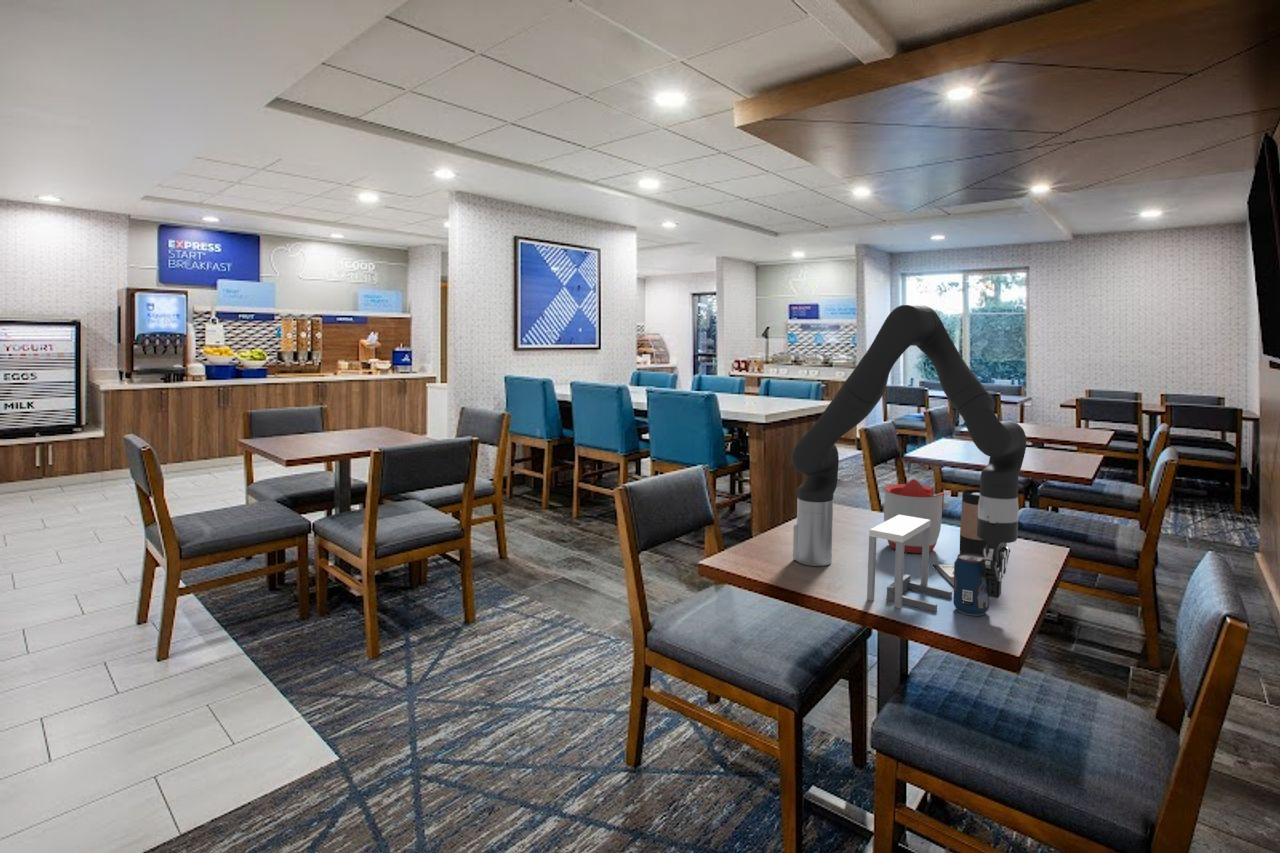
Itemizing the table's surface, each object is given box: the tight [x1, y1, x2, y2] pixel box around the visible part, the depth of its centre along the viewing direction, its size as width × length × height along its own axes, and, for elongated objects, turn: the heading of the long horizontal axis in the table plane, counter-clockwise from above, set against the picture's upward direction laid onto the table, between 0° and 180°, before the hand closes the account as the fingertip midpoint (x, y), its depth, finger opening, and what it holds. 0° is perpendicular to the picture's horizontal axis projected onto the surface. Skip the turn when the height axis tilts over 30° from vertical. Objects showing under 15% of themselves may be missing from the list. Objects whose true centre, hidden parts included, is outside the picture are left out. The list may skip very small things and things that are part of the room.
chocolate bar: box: [931, 563, 954, 589], centre depth 164 cm, size 9×1×18 cm
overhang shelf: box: [866, 515, 953, 613], centre depth 151 cm, size 14×17×16 cm
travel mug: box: [959, 489, 987, 557], centre depth 170 cm, size 8×8×20 cm
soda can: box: [952, 553, 990, 617], centre depth 143 cm, size 7×7×12 cm
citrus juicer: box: [883, 478, 949, 554], centre depth 187 cm, size 16×17×20 cm
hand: (994, 596), depth 140 cm, fingers closed
